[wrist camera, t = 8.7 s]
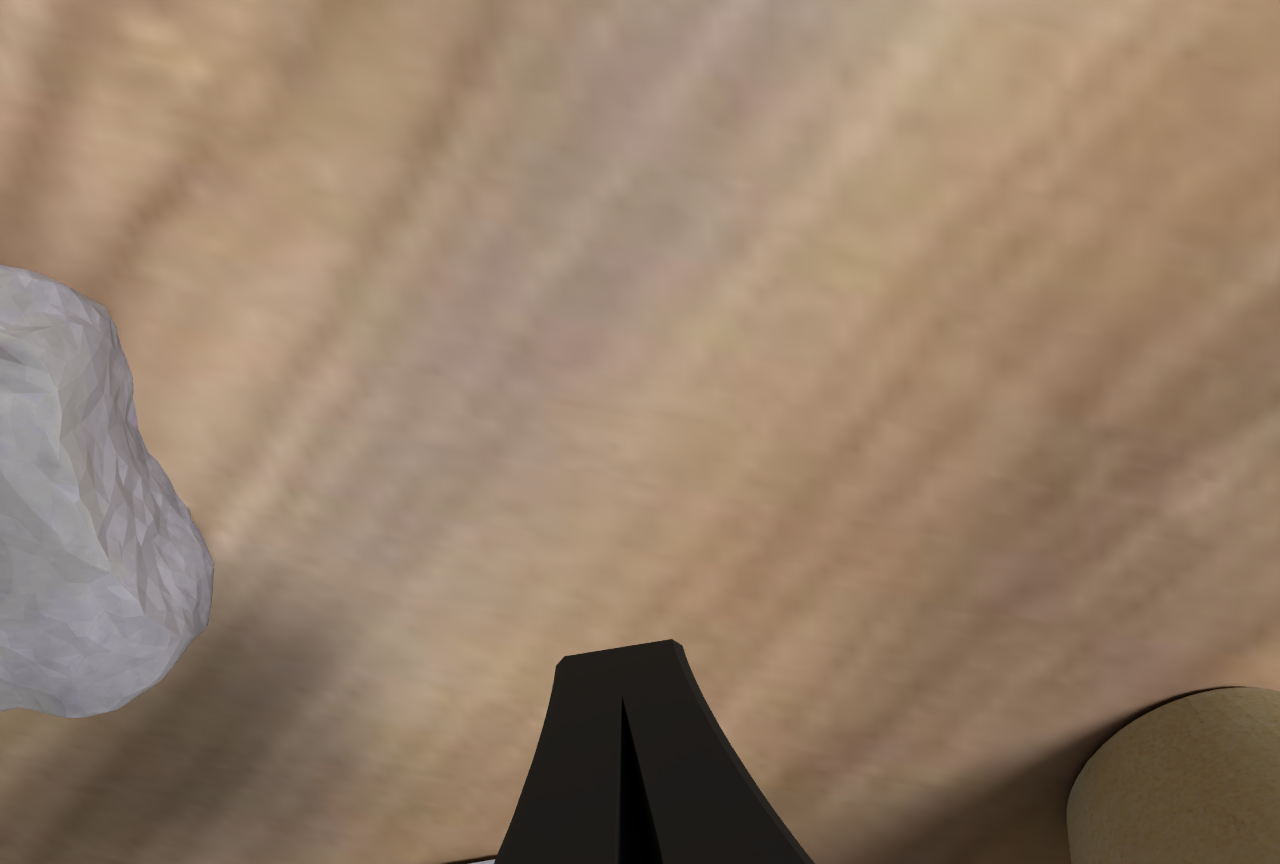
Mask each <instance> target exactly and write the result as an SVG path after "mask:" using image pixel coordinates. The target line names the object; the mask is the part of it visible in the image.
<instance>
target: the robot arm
mask: <svg viewBox="0 0 1280 864" xmlns="http://www.w3.org/2000/svg"><path fill="white" fill-rule="evenodd" d="M469 864H815V863H814V862H813V861H812V860H811V858H810V857H809V856H808V855H807V853H806V852H805V851H804V849H803V848H802V847H801V846H800V844H799V843H798V842H797V840H796V839H795V838H794V836H793V835H792V833H791V832H790V831H789V829H788V828H787V827H786V825H785V824H784V823H783V821H782V820H781V819H780V817H779V816H778V815H777V813H776V812H775V811H774V809H773V808H772V806H771V805H770V803H769V802H768V801H767V799H766V798H765V796H764V795H763V793H762V792H761V791H760V789H759V788H758V786H757V785H756V783H755V782H754V780H753V778H752V777H751V775H750V774H749V772H748V771H747V769H746V768H745V766H744V765H743V763H742V761H741V760H740V758H739V757H738V755H737V754H736V752H735V751H734V749H733V748H732V746H731V744H730V743H729V741H728V739H727V738H726V736H725V734H724V733H723V731H722V729H721V728H720V726H719V724H718V722H717V721H716V719H715V717H714V715H713V713H712V711H711V710H710V708H709V706H708V704H707V702H706V700H705V699H704V697H703V695H702V693H701V691H700V688H699V686H698V684H697V682H696V680H695V678H694V676H693V673H692V671H691V668H690V666H689V664H688V661H687V658H686V655H685V652H684V649H683V646H682V645H680V644H679V643H677V642H676V641H674V640H673V639H670V640H663V641H657V642H651V643H645V644H639V645H632V646H626V647H620V648H614V649H608V650H601V651H595V652H589V653H583V654H577V655H570V656H564V658H563V659H562V660H561V661H560V662H559V663H558V664H557V665H556V670H555V677H554V683H553V688H552V693H551V697H550V702H549V706H548V710H547V714H546V718H545V721H544V725H543V728H542V732H541V735H540V739H539V742H538V745H537V749H536V752H535V755H534V758H533V761H532V764H531V767H530V770H529V773H528V776H527V778H526V781H525V784H524V787H523V790H522V793H521V796H520V798H519V801H518V804H517V807H516V810H515V813H514V815H513V818H512V821H511V823H510V826H509V828H508V831H507V833H506V835H505V838H504V840H503V843H502V845H501V847H500V850H499V852H498V854H497V857H496V859H493V860H487V861H481V862H475V863H469Z"/></svg>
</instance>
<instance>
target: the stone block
mask: <svg viewBox="0 0 1280 864" xmlns="http://www.w3.org/2000/svg"><path fill="white" fill-rule="evenodd" d="M213 576H214V562H213V560H212V557H211V555H210V553H209V550H208V548H207V546H206V543H205V541H204V539H203V537H202V534H201V532H200V530H199V529H198V528H197V526H196V525H195V523H194V522H193V521H192V519H191V514H190V511H189V509H188V507H187V506H186V505H185V504H184V503H183V501H182V500H181V499H180V498H179V496H178V495H177V494H176V492H175V490H174V488H173V486H172V484H171V481H170V480H169V478H168V476H167V475H166V473H165V472H164V470H163V468H162V467H161V465H160V464H159V462H158V461H157V460H156V459H155V458H154V457H152V456H151V455H150V454H149V453H148V451H147V449H146V446H145V444H144V442H143V439H142V437H141V435H140V432H139V430H138V425H137V417H136V411H135V406H134V401H133V377H132V374H131V371H130V368H129V365H128V363H127V360H126V357H125V355H124V352H123V350H122V348H121V344H120V341H119V338H118V334H117V328H116V326H115V324H114V322H113V321H112V319H111V317H110V315H109V313H108V312H107V310H106V308H105V306H103V305H101V304H99V303H97V302H95V301H93V300H92V299H90V298H88V297H85V296H83V295H82V294H80V293H79V292H77V291H76V290H74V289H72V288H70V287H68V286H66V285H64V284H62V283H60V282H57V281H55V280H53V279H51V278H49V277H46V276H44V275H41V274H39V273H37V272H34V271H30V270H26V269H21V268H17V267H7V266H4V265H1V264H0V712H1V711H5V710H9V709H14V708H25V709H32V710H35V711H39V712H42V713H46V714H50V715H55V716H59V717H64V718H84V717H89V716H93V715H97V714H101V713H106V712H110V711H114V710H118V709H119V708H121V707H122V706H124V705H125V704H127V703H128V702H130V701H131V700H133V699H135V698H136V697H138V696H139V695H141V694H142V693H144V692H145V691H147V690H148V689H150V688H151V687H153V686H154V685H156V684H157V683H159V682H160V681H161V680H162V679H163V678H164V677H165V675H166V674H167V673H168V672H169V671H170V669H171V668H172V667H173V666H174V664H175V663H176V662H177V660H178V659H179V657H180V656H181V654H182V653H183V652H184V651H185V650H186V648H187V647H188V646H189V644H190V643H191V642H192V641H193V640H194V639H195V638H196V637H197V636H198V635H199V634H201V633H202V632H203V631H204V629H205V628H206V626H207V625H208V620H209V614H210V608H211V601H212V591H213Z"/></svg>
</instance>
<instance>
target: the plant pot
mask: <svg viewBox="0 0 1280 864" xmlns="http://www.w3.org/2000/svg"><path fill="white" fill-rule="evenodd" d="M1066 819H1067V829H1068V838H1069V848H1070V856H1071V863H1072V864H1280V692H1277V691H1273V690H1268V689H1260V688H1252V687H1240V688H1225V689H1216V690H1211V691H1207V692H1202V693H1198V694H1194V695H1190V696H1187V697H1184V698H1181V699H1178V700H1175V701H1173V702H1170V703H1168V704H1165V705H1163V706H1161V707H1159V708H1157V709H1155V710H1153V711H1151V712H1149V713H1147V714H1145V715H1143V716H1141V717H1139V718H1138V719H1136V720H1134V721H1133V722H1131V723H1130V724H1128V725H1127V726H1125V727H1124V728H1122V729H1121V730H1119V731H1118V732H1117V733H1116V734H1115V735H1113V736H1112V737H1111V738H1110V739H1109V740H1107V741H1106V742H1105V743H1104V744H1103V745H1102V746H1101V747H1100V748H1099V749H1098V750H1097V752H1096V753H1095V754H1094V755H1093V756H1092V757H1091V758H1090V759H1089V760H1088V761H1087V763H1086V765H1085V766H1084V768H1083V769H1082V771H1081V772H1080V774H1079V775H1078V777H1077V779H1076V781H1075V783H1074V785H1073V787H1072V789H1071V792H1070V795H1069V799H1068V804H1067V816H1066Z"/></svg>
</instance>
